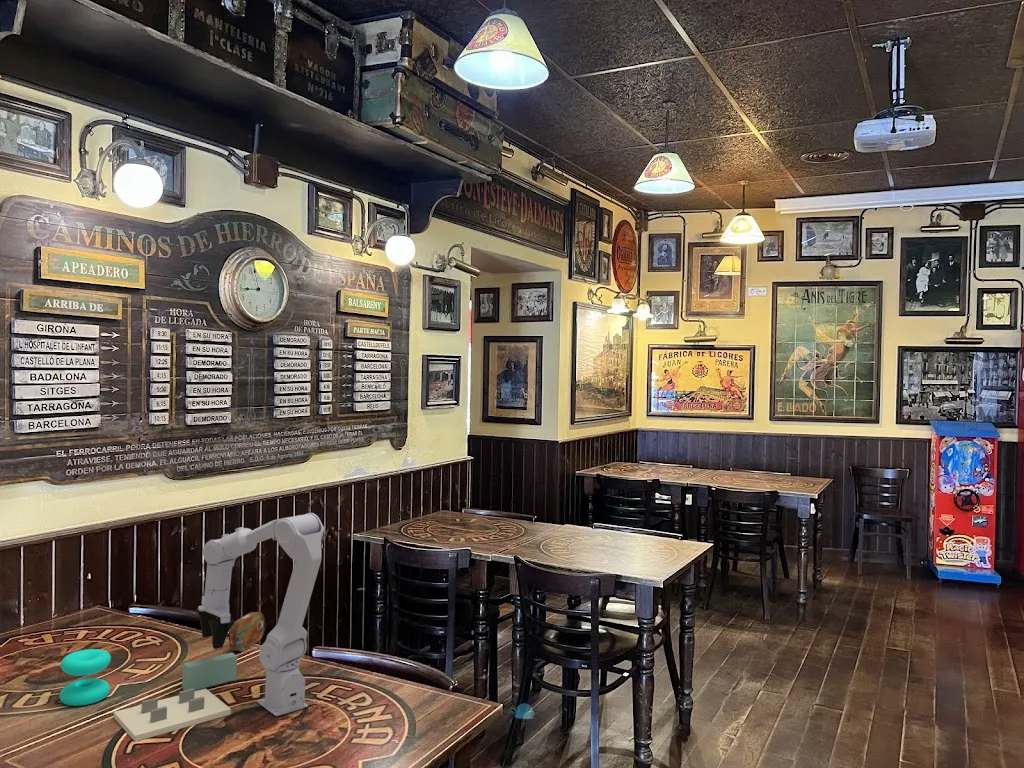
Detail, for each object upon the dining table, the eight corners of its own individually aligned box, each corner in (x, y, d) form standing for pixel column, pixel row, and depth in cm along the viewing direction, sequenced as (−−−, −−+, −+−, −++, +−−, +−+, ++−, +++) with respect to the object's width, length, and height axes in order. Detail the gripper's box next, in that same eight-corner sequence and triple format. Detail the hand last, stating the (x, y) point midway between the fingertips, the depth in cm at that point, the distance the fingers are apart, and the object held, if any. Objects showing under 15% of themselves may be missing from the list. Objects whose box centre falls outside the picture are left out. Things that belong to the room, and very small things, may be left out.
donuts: (71, 666, 164) (54, 654, 170) (69, 712, 164) (52, 698, 170) (118, 655, 172) (100, 644, 178) (116, 698, 172) (98, 685, 178)
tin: (236, 656, 201) (237, 624, 201) (225, 654, 201) (227, 623, 201) (265, 637, 215) (267, 608, 215) (255, 636, 216) (257, 607, 216)
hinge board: (230, 714, 166) (231, 698, 166) (134, 741, 152) (135, 724, 152) (205, 693, 176) (206, 678, 176) (113, 717, 163) (114, 700, 162)
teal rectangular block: (236, 680, 185) (237, 656, 185) (186, 692, 177) (187, 667, 177) (231, 676, 187) (232, 652, 187) (182, 688, 179) (183, 663, 179)
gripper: (191, 580, 185) (186, 634, 185) (211, 598, 174) (205, 656, 174) (220, 577, 189) (214, 629, 190) (241, 595, 178) (235, 650, 179)
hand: (212, 642), depth 182 cm, fingers open, 7 cm apart
